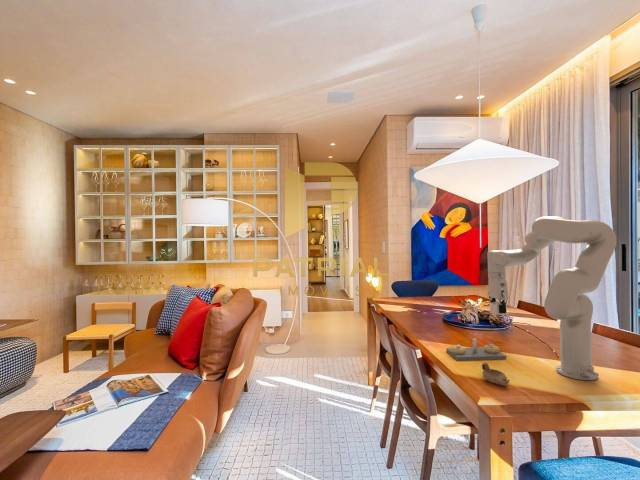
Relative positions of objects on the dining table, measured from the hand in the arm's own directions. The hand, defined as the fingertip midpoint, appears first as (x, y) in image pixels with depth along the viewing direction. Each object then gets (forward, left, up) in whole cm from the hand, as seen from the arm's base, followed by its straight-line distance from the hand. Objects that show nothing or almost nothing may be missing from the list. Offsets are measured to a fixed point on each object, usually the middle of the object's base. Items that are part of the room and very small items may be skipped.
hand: (498, 311), depth 158 cm
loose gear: (0, 0, -1) cm, 1 cm away
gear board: (-10, +17, -18) cm, 26 cm away
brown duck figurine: (-37, +22, -18) cm, 47 cm away
